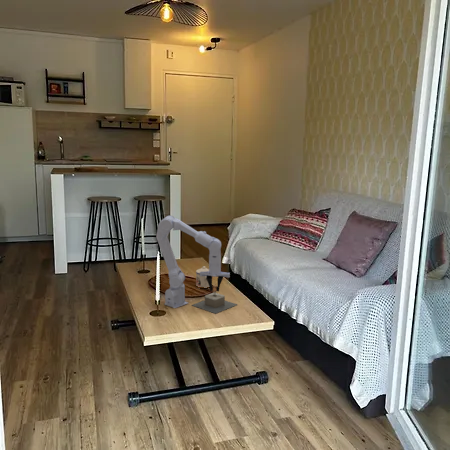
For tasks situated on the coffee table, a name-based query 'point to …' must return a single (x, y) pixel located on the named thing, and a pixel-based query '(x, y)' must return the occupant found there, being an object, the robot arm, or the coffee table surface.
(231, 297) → the coffee table surface
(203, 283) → the teacup with lid
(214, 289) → the plunger
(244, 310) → the coffee table surface
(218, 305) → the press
